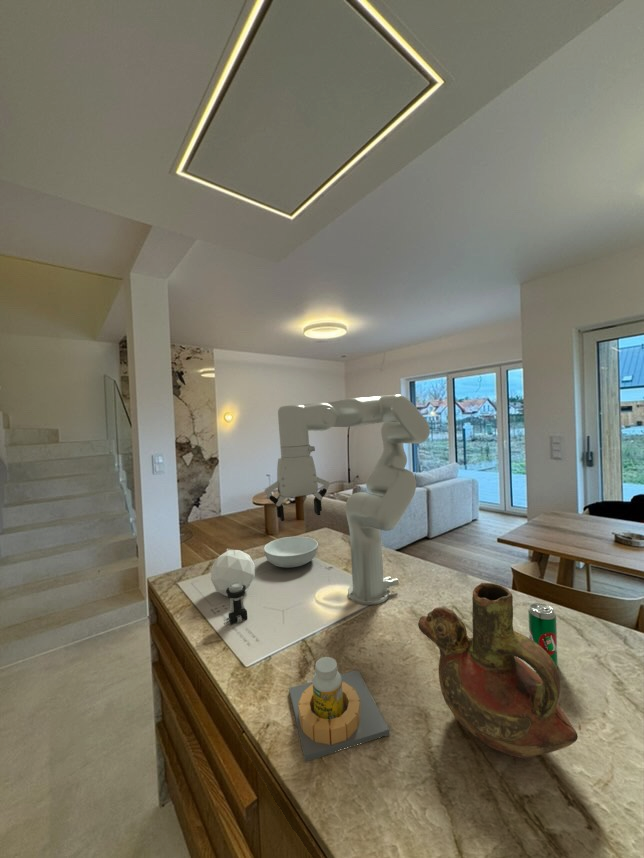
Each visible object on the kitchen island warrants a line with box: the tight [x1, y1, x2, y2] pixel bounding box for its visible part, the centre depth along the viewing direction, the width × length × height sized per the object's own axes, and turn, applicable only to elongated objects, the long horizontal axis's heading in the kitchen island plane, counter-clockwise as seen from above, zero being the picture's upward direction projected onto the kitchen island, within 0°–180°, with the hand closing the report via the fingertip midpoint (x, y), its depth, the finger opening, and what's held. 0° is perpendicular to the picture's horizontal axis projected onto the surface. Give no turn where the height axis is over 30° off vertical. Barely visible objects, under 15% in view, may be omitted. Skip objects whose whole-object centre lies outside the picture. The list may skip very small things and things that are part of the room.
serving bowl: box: [263, 536, 319, 569], centre depth 135 cm, size 21×21×7 cm
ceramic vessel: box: [417, 582, 578, 759], centre depth 61 cm, size 17×26×25 cm, turn 45°
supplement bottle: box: [312, 656, 344, 720], centre depth 64 cm, size 5×5×10 cm
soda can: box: [528, 602, 559, 667], centre depth 75 cm, size 5×5×12 cm
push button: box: [223, 582, 248, 625], centre depth 97 cm, size 7×5×10 cm
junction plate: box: [288, 669, 391, 762], centre depth 66 cm, size 15×15×1 cm
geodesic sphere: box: [210, 547, 256, 597], centre depth 114 cm, size 15×14×14 cm
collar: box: [298, 682, 361, 745], centre depth 64 cm, size 11×11×2 cm
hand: (299, 516), depth 92 cm, fingers open, 9 cm apart
